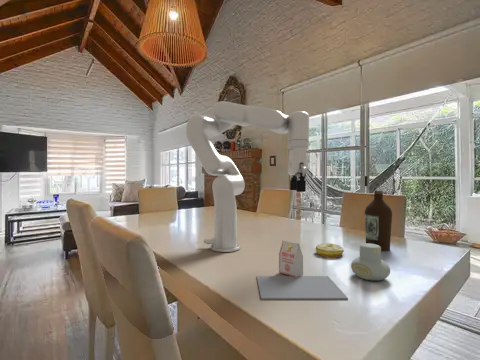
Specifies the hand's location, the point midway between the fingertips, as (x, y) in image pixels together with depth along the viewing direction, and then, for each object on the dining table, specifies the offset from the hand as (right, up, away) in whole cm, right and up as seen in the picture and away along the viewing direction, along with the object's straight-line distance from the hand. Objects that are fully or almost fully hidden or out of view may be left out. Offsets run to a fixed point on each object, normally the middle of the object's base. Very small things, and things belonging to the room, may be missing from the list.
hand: (297, 190), depth 103 cm
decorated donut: (+14, -26, +6) cm, 30 cm away
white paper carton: (-6, -26, -17) cm, 31 cm away
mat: (-5, -26, -27) cm, 38 cm away
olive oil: (+38, -26, +15) cm, 48 cm away
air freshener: (+18, -26, -19) cm, 37 cm away
